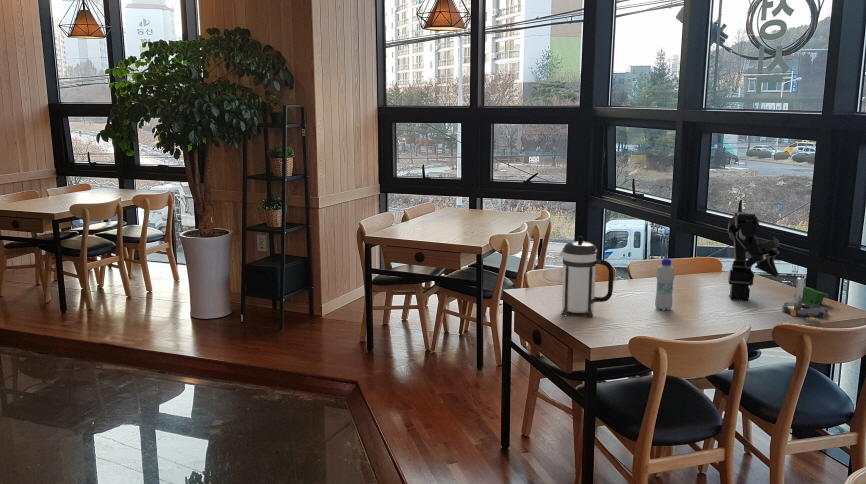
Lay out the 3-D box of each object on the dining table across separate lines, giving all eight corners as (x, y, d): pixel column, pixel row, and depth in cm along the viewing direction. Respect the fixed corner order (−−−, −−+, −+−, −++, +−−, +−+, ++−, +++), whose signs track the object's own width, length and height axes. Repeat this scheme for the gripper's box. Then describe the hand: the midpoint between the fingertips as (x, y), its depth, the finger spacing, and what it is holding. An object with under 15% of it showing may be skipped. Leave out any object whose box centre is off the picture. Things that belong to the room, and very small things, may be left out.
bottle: (672, 307, 277) (675, 257, 273) (672, 312, 271) (675, 261, 267) (654, 305, 280) (657, 256, 276) (654, 310, 273) (656, 260, 269)
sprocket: (788, 317, 263) (791, 280, 261) (777, 305, 278) (781, 270, 275) (833, 319, 260) (837, 282, 257) (820, 307, 275) (824, 272, 272)
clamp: (819, 315, 281) (832, 297, 276) (806, 312, 279) (820, 295, 275) (803, 296, 291) (816, 279, 286) (791, 294, 289) (803, 276, 284)
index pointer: (807, 322, 258) (807, 319, 258) (805, 319, 261) (805, 316, 261) (819, 322, 257) (819, 320, 257) (817, 320, 261) (817, 317, 260)
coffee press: (576, 321, 261) (579, 241, 255) (550, 310, 275) (552, 234, 269) (612, 315, 269) (616, 237, 263) (585, 304, 282) (588, 230, 276)
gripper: (755, 233, 265) (783, 267, 259) (776, 227, 277) (803, 259, 271) (733, 251, 272) (759, 284, 266) (754, 244, 284) (780, 276, 279)
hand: (776, 275), depth 270 cm, fingers closed
